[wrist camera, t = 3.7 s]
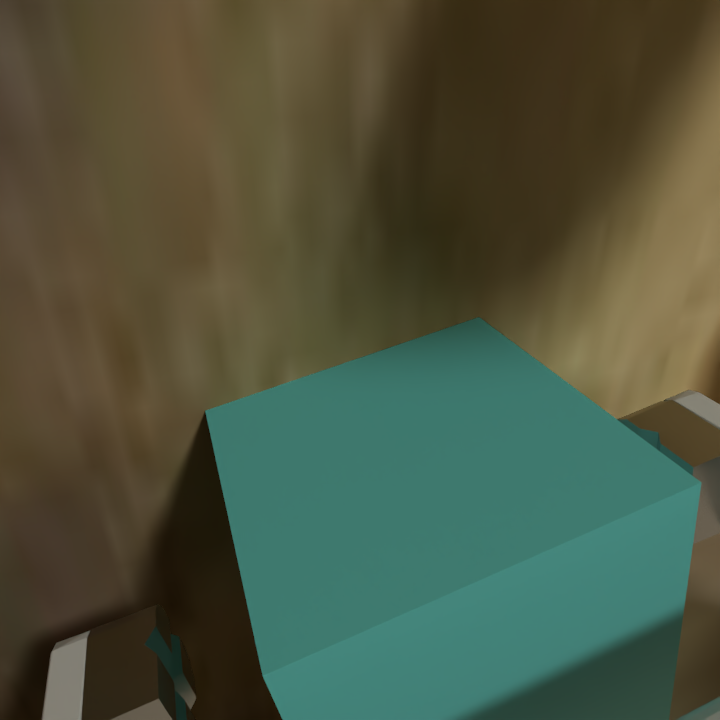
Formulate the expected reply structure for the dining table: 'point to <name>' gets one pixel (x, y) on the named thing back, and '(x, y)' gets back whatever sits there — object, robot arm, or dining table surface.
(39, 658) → the dining table surface
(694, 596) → the maple block
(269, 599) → the teal block
